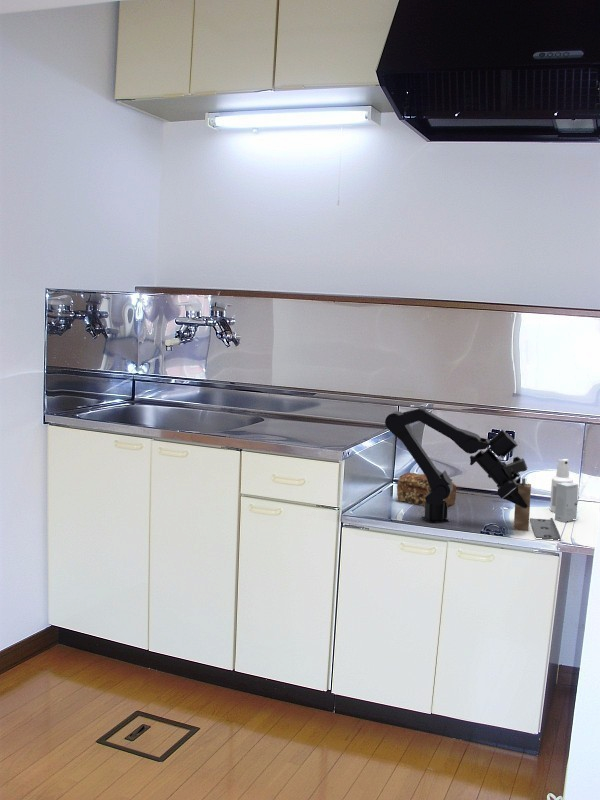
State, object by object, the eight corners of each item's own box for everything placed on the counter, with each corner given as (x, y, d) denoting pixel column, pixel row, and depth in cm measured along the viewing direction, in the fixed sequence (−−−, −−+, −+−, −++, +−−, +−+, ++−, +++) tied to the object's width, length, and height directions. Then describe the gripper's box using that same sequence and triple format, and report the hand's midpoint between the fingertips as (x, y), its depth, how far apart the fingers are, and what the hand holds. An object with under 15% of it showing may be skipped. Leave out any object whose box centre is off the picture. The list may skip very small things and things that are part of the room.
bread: (395, 502, 293) (396, 474, 292) (408, 496, 302) (409, 469, 300) (444, 510, 283) (445, 481, 281) (457, 504, 292) (458, 476, 290)
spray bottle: (557, 514, 280) (560, 461, 278) (546, 509, 286) (549, 457, 284) (575, 513, 282) (578, 461, 279) (563, 508, 288) (566, 457, 286)
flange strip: (560, 540, 248) (560, 536, 247) (535, 539, 249) (536, 534, 249) (552, 522, 269) (552, 517, 269) (529, 520, 270) (530, 516, 270)
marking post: (513, 529, 259) (516, 479, 257) (514, 526, 263) (516, 476, 261) (528, 531, 258) (531, 480, 256) (528, 527, 262) (531, 477, 260)
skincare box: (564, 522, 269) (567, 485, 267) (553, 519, 273) (555, 483, 271) (577, 520, 272) (579, 484, 271) (566, 517, 276) (568, 481, 275)
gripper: (510, 454, 250) (546, 494, 248) (514, 445, 267) (548, 481, 265) (482, 478, 253) (518, 517, 251) (488, 467, 271) (521, 503, 269)
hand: (527, 504), depth 259 cm, fingers open, 9 cm apart
